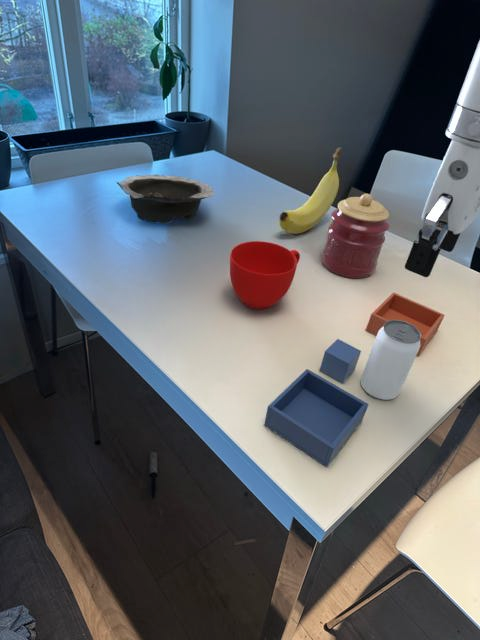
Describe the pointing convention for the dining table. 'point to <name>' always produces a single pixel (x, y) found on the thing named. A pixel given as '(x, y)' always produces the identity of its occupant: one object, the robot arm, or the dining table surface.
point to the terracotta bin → (406, 317)
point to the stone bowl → (164, 196)
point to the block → (340, 360)
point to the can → (390, 359)
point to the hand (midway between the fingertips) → (429, 259)
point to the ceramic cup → (262, 272)
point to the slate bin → (315, 416)
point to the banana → (313, 203)
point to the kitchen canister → (355, 237)
